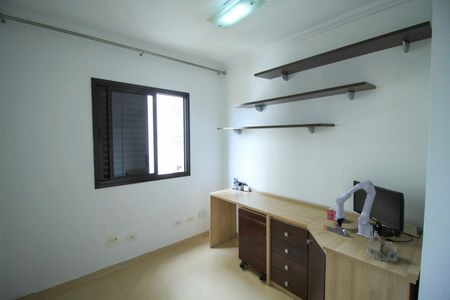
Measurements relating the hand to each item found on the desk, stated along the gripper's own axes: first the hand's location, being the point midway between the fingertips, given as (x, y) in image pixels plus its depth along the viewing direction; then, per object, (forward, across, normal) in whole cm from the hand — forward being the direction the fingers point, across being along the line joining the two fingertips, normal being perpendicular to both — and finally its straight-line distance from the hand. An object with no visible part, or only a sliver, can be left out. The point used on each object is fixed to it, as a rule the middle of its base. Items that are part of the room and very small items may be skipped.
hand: (339, 226), depth 185 cm
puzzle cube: (+2, -16, -12) cm, 21 cm away
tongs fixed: (+1, +12, +2) cm, 12 cm away
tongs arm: (+1, +6, +3) cm, 6 cm away
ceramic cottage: (+2, +23, +38) cm, 45 cm away
